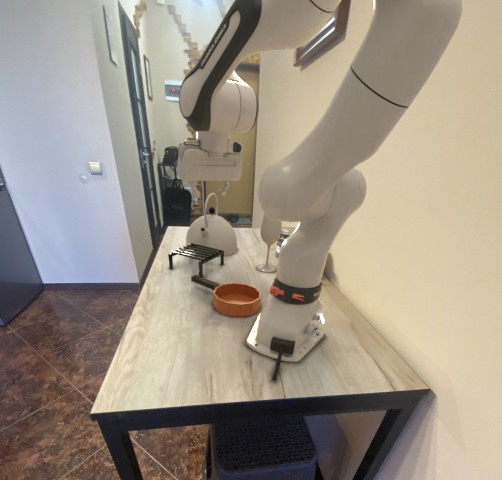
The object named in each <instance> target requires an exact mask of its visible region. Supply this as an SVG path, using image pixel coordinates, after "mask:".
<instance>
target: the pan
mask: <svg viewBox="0 0 502 480" xmlns="http://www.w3.org/2000/svg"><path fill="white" fill-rule="evenodd" d="M190 282H192V283H195V284H197V285H200V286H203V287H204V288H207V289H209V290H212V305H213V308H214V309H215V310H216V311H217V312H218V313H219V314H222V315H225V316H228V317H236V318H244V317H249V316H253V315H254V314H256V313H258V312H259V310H260V308H261V301H262V292H261V290H259V289H258V288H257V287H256V286H253V285H250V284H247V283H243V282H228V283H222V284H220V283H217V282H216V281H213V280H210V279H207V278H205V277H204V276H203V277H200V276H199V274H198V275H197V274H194V275H191V276H190Z"/></svg>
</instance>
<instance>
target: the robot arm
mask: <svg viewBox="0 0 502 480" xmlns="http://www.w3.org/2000/svg"><path fill="white" fill-rule="evenodd" d="M341 2H342V0H234V1H233V2H232V3H231V6H230V7H229V9H228V10H227V12H226V14H225V16H224V17H223V19H222V20H221V22H220V23H219V25H218V27H217V29H216V30H215V32H214V33H213V35H212V36H211V37H212V38H211V39H210V41H209V43H208V44H207V46H206V47H205V49H204V51H203V52H202V55H201V56H200V59H199V60H198V62H197V63H196V64H195V66H193V67H192V69H191V70H190V71H189V72H188V73H187V74H186V76H185V77H184V79H183V80H182V82H181V84H180V87H179V92H178V106H179V111H180V114H181V115H182V117H183V119H184V121H185V122H186V123H187V124H188V126H189V127H190V128H191V129H192V130H193V131H194V132H196V139H195V140H189V139H183V140H182V141H181V142H180V143H179V144H178V146H177V154H178V156H177V158H178V159H177V164H176V165H177V166H176V175H177V177H178V178H179V179H180V180H181V181H183V182H188V185H189V186H190V188H191V191H192V192H191V193H192V194H191V195H192V198H194V199H199V198H200V197H201V191H200V190H199V189H197V186H198V182H222V186H221V188H219V189H218V196H219V197H222V198H223V197H226V196H227V191H228V189H229V187H230V186H231V182H234V181H235V182H236V181H237V182H238V181H240V179H241V178H242V174H243V166H244V158H243V155H242V154H244V150H245V146H244V144H242V143H241V142H240V141H237V140H236V139H234V138H233V137H231V134H235V135H246V134H249V133H250V132H251V131H252V130H253V129H254V127H255V125H256V123H257V120H258V117H259V112H260V111H259V110H260V108H259V107H260V106H259V97H258V95H257V93H256V91H255V89H254V88H253V86H250V85H248V84H247V83H246V82H245V81H243V79H242V78H241V77H240V76H239V75H238V74H237V72H236V69H237V67H238V66H239V65H240V63H241V62H243V60H245V59H246V58H248V57H250V56H252V55H254V54H258V53H263V52H270V51H279V50H280V51H283V50H284V51H285V50H295V49H298V48H301V47H303V46H306V45H307V44H308V43H309V42H310V41H312V39H314V38H315V37H316V36H317V35H318V34H319V33H320V32H321V31H322V29H324V27H325V25H326V23H327V22H328V21H329V20H330V18H331V17H332V15H333V13H335V11H336V10H337V8H338V6H339V5H340V3H341ZM372 5H373V7H372V16H371V19H370V24H369V27H368V29H367V31H366V34H365V36H364V38H363V40H362V42H361V43H360V46H359V47H358V50H357V51H356V53H355V55H354V57H353V59H352V61H351V63H350V65H348V66H349V67H348V68H347V70H346V72H345V74H344V75H343V78H342V80H341V82H340V84H339V85H338V87H337V90H335V93H334V94H333V97H332V99H331V101H330V102H329V104H328V106H327V108H326V109H325V111H324V113H323V115H322V116H321V118H320V119H319V121H318V122H317V123H316V125H314V127H313V128H312V129H311V131H310V132H309V133H308V134H307V135H306V137H305V138H304V139H303V140H302V141H301V142H300V143H299V144H298V145H297V146H296V147H295V148H294V149H293V150H291V152H290V153H289V154H287V155H286V156H284V157H283V158H282V159H281V160H279V161H277V162H275V163H273V164H271V165H270V166H269V167H267V168H266V169H265V171H264V173H263V174H262V176H261V179H260V181H259V184H258V202H259V205H260V208H261V209H262V211H263V214H264V213H265V214H266V215H267V216H268V217H269V218H271V219H275V220H279V221H281V222H284V223H285V222H286V223H298V224H297V226H296V228H295V229H294V231H293V232H292V233H291V234H290V235H288V237H287V238H285V239H284V240H283V241H282V243H281V246H280V248H279V254H278V261H277V266H276V267H277V268H276V273H275V274H274V278H273V279H272V280H273V281H272V284H271V286H270V288H269V290H268V296H267V298H266V301H265V303H264V306H263V308H262V309H261V312H260V313H259V314H258V315H257V317H256V319H255V321H254V323H253V326H252V328H251V330H250V331H249V334H248V336H247V339H246V342H245V344H246V345H247V346H248V347H249V348H250V349H252V350H253V351H254V352H256V353H259V354H261V355H263V356H265V357H269V358H272V359H275V360H276V364H275V369H274V372H273V375H272V379H271V380H272V381H276V380H277V378H278V377H277V376H278V374H279V369H280V366H281V361H283V362H291V363H292V362H293V363H297V362H299V361H301V360H302V359H303V358H304V357H305V356H306V355H307V354H308V353H309V352H310V351H311V350H312V349H313V348H314V347H315V346H316V345H317V344H318V343H319V342H320V341H321V340H322V339H323V338H324V334H325V333H324V331H323V330H322V329H320V324H321V323H322V325H324V324H325V322H326V320H325V318H324V316H323V308H324V306H323V304H322V302H321V301H320V296H321V292H322V289H323V281H322V279H323V275H324V271H325V268H326V267H325V266H326V265H327V264H326V263H327V260H328V256H329V253H330V250H331V248H332V246H333V244H334V242H335V240H336V238H337V237H338V234H339V233H340V231H341V230H342V228H343V226H344V225H345V223H346V222H347V221H348V219H349V218H350V217H351V216H352V215H353V214H354V213H356V212H357V211H358V210H359V209H360V208H361V206H362V205H363V203H364V201H365V199H366V194H367V181H366V178H365V176H364V174H363V173H362V172H361V170H359V169H357V168H356V167H357V166H359V165H360V164H362V163H364V162H365V161H368V160H369V159H371V157H373V156H374V155H375V154H376V153H377V152H378V151H379V149H380V147H381V146H382V145H383V144H384V142H385V141H386V139H387V138H388V137H389V135H390V134H391V133H392V131H393V130H394V129H395V127H396V125H397V124H398V122H400V121H401V119H402V118H403V116H404V115H405V113H406V112H407V110H408V109H409V108H410V107H411V105H412V103H414V101H415V99H416V98H417V96H418V95H419V93H420V92H421V90H423V88H424V86H425V85H426V84H427V81H428V80H429V78H430V76H431V75H432V73H433V71H434V70H435V68H436V67H437V65H438V63H439V62H440V60H441V58H442V57H443V54H444V53H445V51H446V50H447V48H448V46H449V44H450V42H451V41H452V39H453V36H454V35H455V33H456V31H457V29H458V27H459V25H460V21H461V18H462V12H463V0H372Z"/></svg>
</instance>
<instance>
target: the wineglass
mask: <svg viewBox="0 0 502 480" xmlns="http://www.w3.org/2000/svg"><path fill="white" fill-rule="evenodd" d="M259 233H260V234H259V235H260V238H261V240H262V241H263V243H264V244H265V245H266V246H267V252H266V260H265V264H260V265H258V266H257V268H256V269H257V270H258V271H259V272H263V273H274V272H276V271H277V268H276V267H275V266H273V265H269V259H270V249H271V247H272V245H274V244H276V243H277V242H278V241H279V239H280V237H281V235H282V221H279V220H275V219H271V218H269V217H268V216H267V215H266V214H265V213H264V212H263V215H262V220H261V224H260V232H259Z"/></svg>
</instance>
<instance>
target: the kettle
mask: <svg viewBox="0 0 502 480" xmlns="http://www.w3.org/2000/svg"><path fill="white" fill-rule="evenodd" d="M212 196H214V198H215V204H216V209H215V208H214V207H213V206H211V207H209V208H208V214H207V207H208V203H209V200H210V198H211V197H212ZM218 214H219V199H218V195H217V193H215V192H211V193H209V194H208V196H207V197H206V200H205V203H204V209H203V215H201V216H199V217H198V218H196V219H195V220H194V221H193V222H192V223H191V225H190V226H189V228H188V229H187V233H186V237H185V244H186V245H185V246H187V245H190V243H194V244H198V245H202V246H206V247H211V248H215V249H219V250H223V251H224V257H228V256H232V255H234V254H235V253H237V252H238V240H237V235H236V231H235V229H234V227H233V226H232V225H231V224H230V222H229V221H228V220H226V219H225V218H224V217H223V216H220V215H218ZM201 248H202V247H201ZM205 249H206V248H205ZM189 250H190V249H189ZM199 250H200V249H199ZM209 250H210V249H209ZM203 251H204V250H203ZM213 251H214V250H213ZM197 252H198V251H197ZM207 252H208V251H207ZM217 252H218V251H217ZM190 253H192V252H190ZM201 253H202V252H201ZM211 253H212V252H211ZM205 254H206V253H205ZM198 255H199V254H198ZM209 255H210V254H209ZM202 256H203V255H202ZM217 258H221V255H220V256H218V257H217Z"/></svg>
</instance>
